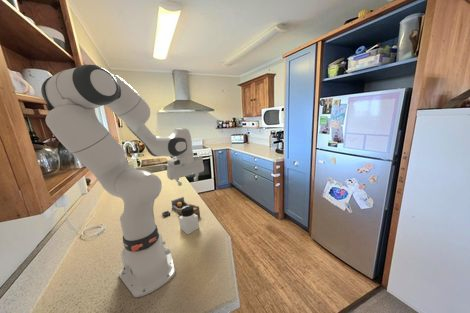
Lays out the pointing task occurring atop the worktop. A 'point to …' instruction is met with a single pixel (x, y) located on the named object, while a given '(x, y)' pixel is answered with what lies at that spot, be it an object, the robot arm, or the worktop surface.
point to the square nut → (166, 213)
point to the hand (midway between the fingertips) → (188, 183)
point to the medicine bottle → (188, 220)
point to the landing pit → (174, 202)
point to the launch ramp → (196, 210)
